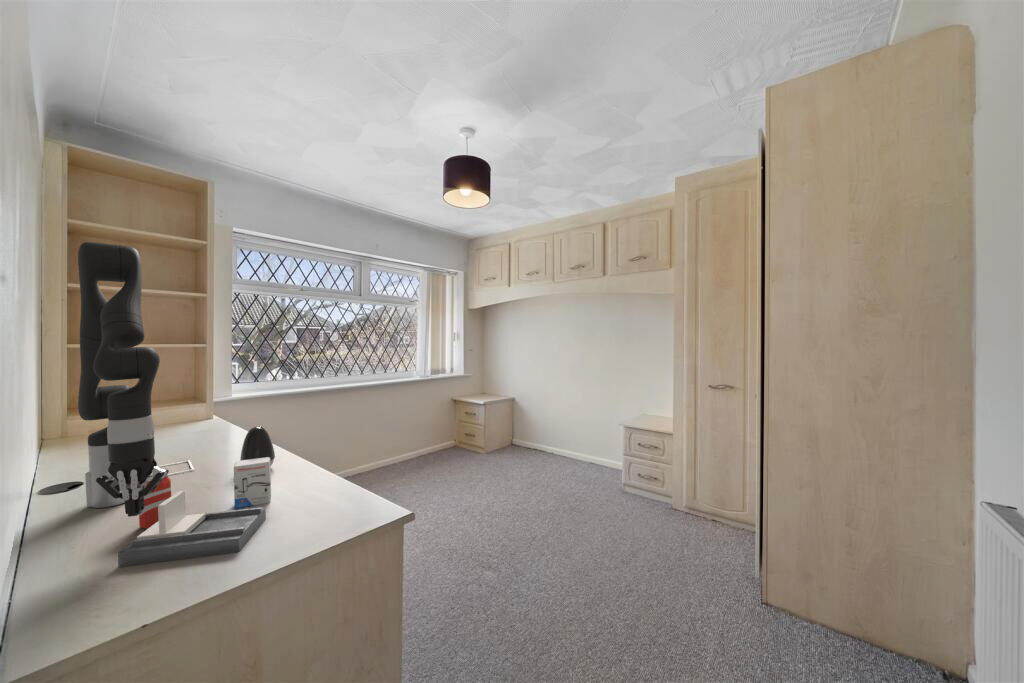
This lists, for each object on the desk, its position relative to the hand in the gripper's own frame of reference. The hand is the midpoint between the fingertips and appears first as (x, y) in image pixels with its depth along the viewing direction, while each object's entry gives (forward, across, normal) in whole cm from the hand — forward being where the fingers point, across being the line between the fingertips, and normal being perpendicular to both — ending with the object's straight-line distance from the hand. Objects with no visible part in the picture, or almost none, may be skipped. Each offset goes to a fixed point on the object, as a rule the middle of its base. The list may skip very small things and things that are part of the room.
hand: (135, 514), depth 91 cm
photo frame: (+8, -26, +58) cm, 64 cm away
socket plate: (+8, +12, 0) cm, 14 cm away
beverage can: (+8, -3, +12) cm, 15 cm away
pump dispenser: (+8, +7, +50) cm, 51 cm away
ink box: (+8, +16, +20) cm, 27 cm away
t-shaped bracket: (+4, +7, 0) cm, 8 cm away
